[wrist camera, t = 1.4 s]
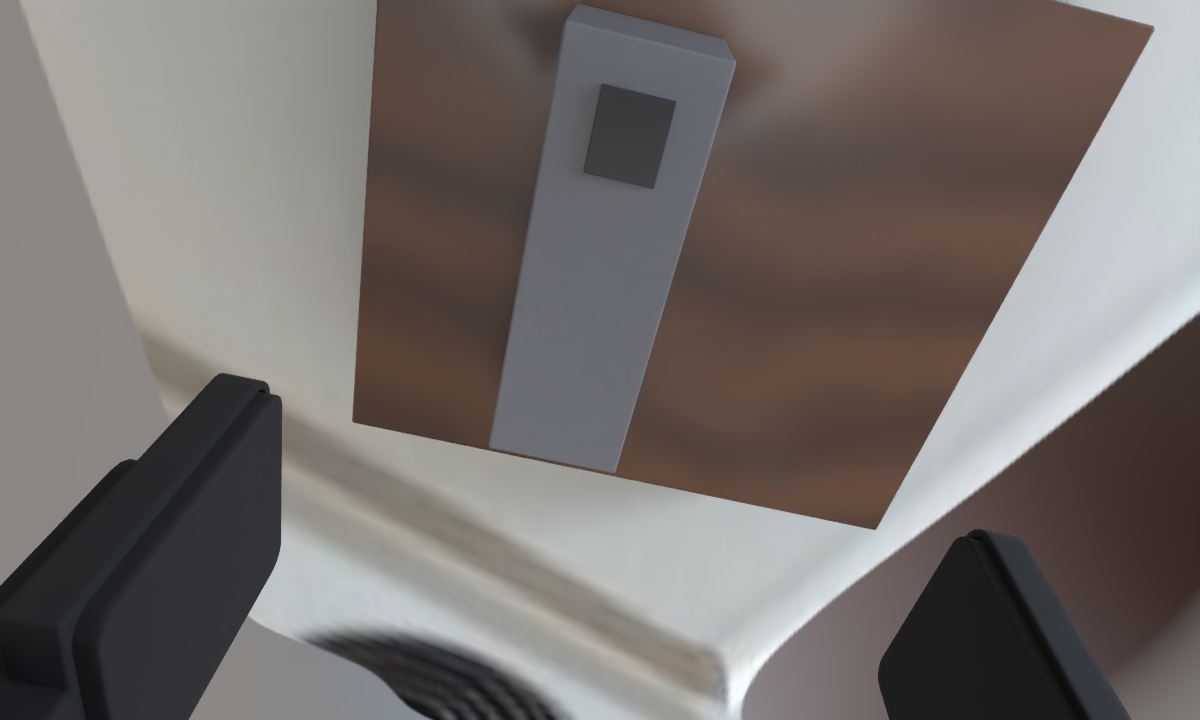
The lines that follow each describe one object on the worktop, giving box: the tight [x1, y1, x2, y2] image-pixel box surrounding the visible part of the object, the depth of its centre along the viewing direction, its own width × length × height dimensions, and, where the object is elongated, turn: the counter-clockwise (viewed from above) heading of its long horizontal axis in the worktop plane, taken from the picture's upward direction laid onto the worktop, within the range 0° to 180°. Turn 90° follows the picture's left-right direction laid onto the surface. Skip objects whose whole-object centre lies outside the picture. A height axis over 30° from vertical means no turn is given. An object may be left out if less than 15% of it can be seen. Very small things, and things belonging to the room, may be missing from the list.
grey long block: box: [489, 4, 736, 473], centre depth 25 cm, size 14×4×4 cm, turn 168°
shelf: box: [352, 0, 1155, 530], centre depth 28 cm, size 20×22×5 cm
